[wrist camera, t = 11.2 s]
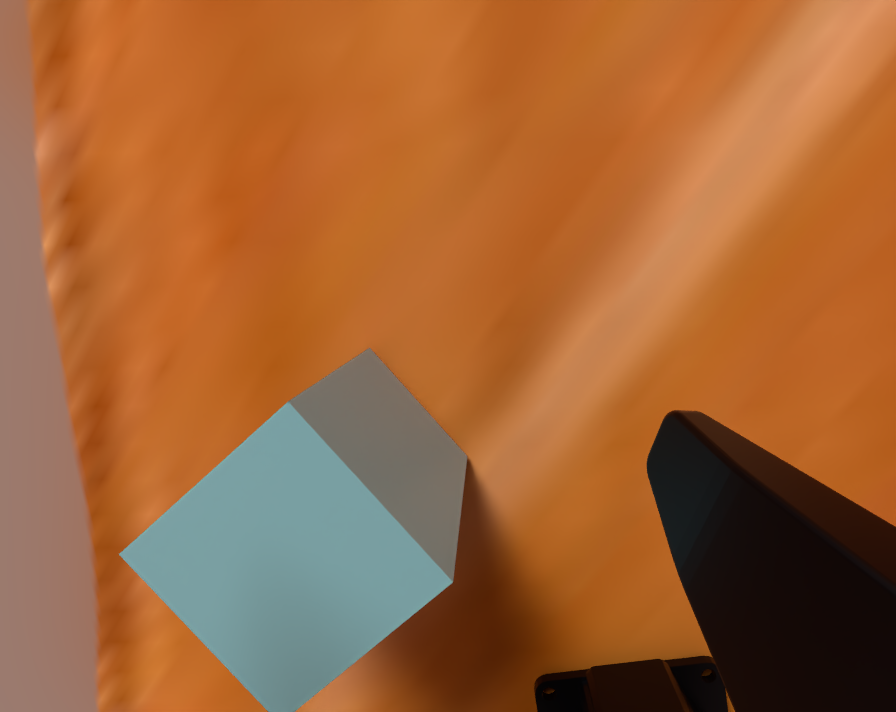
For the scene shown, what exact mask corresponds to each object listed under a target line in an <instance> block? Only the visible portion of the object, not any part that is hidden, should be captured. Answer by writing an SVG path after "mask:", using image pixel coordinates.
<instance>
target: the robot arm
mask: <svg viewBox="0 0 896 712" xmlns="http://www.w3.org/2000/svg"><path fill="white" fill-rule="evenodd" d="M647 473H648V478H649V481H650V484H651V488H652V491H653V494H654V498H655V501H656V504H657V508H658V511H659V514H660V517H661V521H662V524H663V527H664V531H665V534H666V537H667V541H668V544H669V547H670V551H671V554H672V557H673V560H674V563H675V566H676V569H677V572H678V575H679V578H680V580H681V583H682V585H683V588H684V590H685V593H686V595H687V598H688V600H689V602H690V605H691V607H692V610H693V612H694V614H695V617H696V619H697V621H698V624H699V626H700V629H701V631H702V633H703V636H704V638H705V641H706V643H707V645H708V648H709V650H710V653H711V655H712V657H713V658H712V657H709V656H698V657H689V658H681V659H672V660H661V659H654V660H645V661H636V662H628V663H619V664H610V665H602V666H593V667H591V668H590V669H586V670H577V671H568V672H560V673H551V674H545V675H542V676H540V677H539V678H538V679H537V680H536V682H535V686H534V690H535V698H536V704H537V710H538V712H728V707H727V699H726V691H727V693H728V695H729V698H730V700H731V703H732V705H733V707H734V710H735V712H896V527H895V526H893V525H892V524H890V523H888V522H887V521H885V520H883V519H881V518H880V517H878V516H876V515H875V514H873V513H871V512H870V511H868V510H866V509H864V508H863V507H861V506H859V505H858V504H856V503H854V502H853V501H851V500H849V499H848V498H846V497H844V496H842V495H841V494H839V493H837V492H836V491H834V490H832V489H831V488H829V487H827V486H826V485H824V484H822V483H820V482H819V481H817V480H815V479H814V478H812V477H810V476H809V475H807V474H805V473H803V472H802V471H800V470H798V469H797V468H795V467H793V466H792V465H790V464H788V463H787V462H785V461H783V460H781V459H780V458H778V457H776V456H775V455H773V454H771V453H770V452H768V451H766V450H765V449H763V448H761V447H759V446H758V445H756V444H754V443H753V442H751V441H749V440H748V439H746V438H744V437H742V436H741V435H739V434H737V433H736V432H734V431H732V430H731V429H729V428H727V427H726V426H724V425H722V424H720V423H719V422H717V421H715V420H714V419H712V418H710V417H709V416H707V415H705V414H703V413H701V412H698V411H681V410H674V411H671V412H669V413H668V414H667V415H666V416H665V417H664V419H663V421H662V424H661V426H660V429H659V431H658V433H657V436H656V438H655V441H654V443H653V445H652V448H651V450H650V453H649V455H648V459H647ZM707 669H711V670H712V672H711V673H710V674H709V675H707V676H702V675H701V674H702V672H703V671H704V670H707ZM548 687H550V688H553V689H555V690H554V692H552V693H550V694H548V693H545V692H543V690H544V689H545V688H548ZM725 688H726V691H725Z"/></svg>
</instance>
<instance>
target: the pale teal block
mask: <svg viewBox="0 0 896 712" xmlns="http://www.w3.org/2000/svg"><path fill="white" fill-rule="evenodd" d="M466 465H467V455H466V454H465V453H464V452H463V451H462V450H461V449H460V448H459V447H458V445H457V444H456V443H455V442H454V441H453V440H452V439H451V438H450V437H449V435H448V434H447V433H446V432H445V431H444V430H443V429H442V428H441V427H440V425H439V424H438V423H437V422H436V421H435V420H434V419H433V418H432V417H431V415H430V414H429V413H428V412H427V411H426V410H425V409H424V408H423V407H422V405H421V404H420V403H419V402H418V401H417V400H416V399H415V398H414V397H413V395H412V394H411V393H410V392H409V391H408V390H407V389H406V388H405V386H404V385H403V384H402V383H401V382H400V381H399V380H398V379H397V378H396V376H395V375H394V374H393V373H392V372H391V371H390V370H389V369H388V368H387V366H386V365H385V364H384V363H383V362H382V361H381V360H380V359H379V358H378V356H377V355H376V354H375V353H374V352H373V351H372V350H371V349H370V348H369V349H367V350H365V351H364V352H362V353H361V354H359V355H358V356H356V357H355V358H353V359H352V360H350V361H349V362H347V363H346V364H344V365H343V366H341V367H340V368H338V369H337V370H335V371H334V372H332V373H331V374H329V375H328V376H326V377H325V378H323V379H322V380H320V381H319V382H317V383H316V384H314V385H313V386H311V387H309V388H308V389H306V390H305V391H303V392H302V393H300V394H299V395H297V396H296V397H294V398H293V399H291V400H290V401H288V402H287V403H286V404H285V405H284V406H283V407H282V408H280V409H279V410H278V411H277V412H276V413H275V414H274V415H273V416H272V417H271V418H269V419H268V420H267V421H266V422H265V423H264V424H263V425H262V426H261V427H259V428H258V429H257V430H256V431H255V432H254V433H253V434H252V435H251V436H249V437H248V438H247V439H246V440H245V441H244V442H243V443H242V444H241V445H240V446H238V447H237V448H236V449H235V450H234V451H233V452H232V453H231V454H230V455H228V456H227V457H226V458H225V459H224V460H223V461H222V462H221V463H220V464H218V465H217V466H216V467H215V468H214V469H213V470H212V471H211V472H210V473H209V474H207V475H206V476H205V477H204V478H203V479H202V480H201V481H200V482H199V483H197V484H196V485H195V486H194V487H193V488H192V489H191V490H190V491H189V492H187V493H186V494H185V495H184V496H183V497H182V498H181V499H180V500H179V501H178V502H176V503H175V504H174V505H173V506H172V507H171V508H170V509H169V510H168V511H166V512H165V513H164V514H163V515H162V516H161V517H160V518H159V519H158V520H156V521H155V522H154V523H153V524H152V525H151V526H150V527H149V528H148V529H146V530H145V531H144V532H143V533H142V534H141V535H140V536H139V537H138V538H137V539H135V540H134V541H133V542H132V543H131V544H130V545H129V546H128V547H127V548H125V549H124V550H123V551H122V552H121V553H120V554H119V555H120V556H121V557H122V558H123V559H124V560H125V561H126V562H127V563H128V564H129V566H130V567H131V568H132V569H133V570H134V571H135V572H136V573H137V574H138V575H139V576H140V577H141V578H142V579H143V580H144V581H145V582H146V583H147V584H148V586H149V587H150V588H151V589H152V590H153V591H154V592H155V593H156V594H157V595H158V596H159V597H160V598H161V599H162V600H163V601H164V602H165V603H166V604H167V606H168V607H169V608H170V609H171V610H172V611H173V612H174V613H175V614H176V615H177V616H178V617H179V618H180V619H181V620H182V621H183V622H184V623H185V624H186V625H187V627H188V628H189V629H190V630H191V631H192V632H193V633H194V634H195V635H196V636H197V637H198V638H199V639H200V640H201V641H202V642H203V643H204V644H205V645H206V647H207V648H208V649H209V650H210V651H211V652H212V653H213V654H214V655H215V656H216V657H217V658H218V659H219V660H220V661H221V662H222V663H223V664H224V665H225V667H226V668H227V669H228V670H229V671H230V672H231V673H232V674H233V675H234V676H235V677H236V678H237V679H238V680H239V681H240V682H241V683H242V684H243V685H244V687H245V688H246V689H247V690H248V691H249V692H250V693H251V694H252V695H253V696H254V697H255V698H256V699H257V700H258V701H259V702H260V703H261V704H262V705H263V707H264V708H265V709H266V710H267V711H268V712H295V711H296V710H297V709H298V708H300V707H301V706H302V705H303V704H304V703H306V702H307V701H308V700H309V699H311V698H312V697H313V696H314V695H316V694H317V693H318V692H319V691H320V690H322V689H323V688H324V687H325V686H327V685H328V684H329V683H330V682H331V681H333V680H334V679H335V678H336V677H338V676H339V675H340V674H341V673H342V672H344V671H345V670H346V669H347V668H349V667H350V666H351V665H352V664H354V663H355V662H356V661H357V660H358V659H360V658H361V657H362V656H363V655H365V654H366V653H367V652H368V651H369V650H371V649H372V648H373V647H374V646H376V645H377V644H378V643H379V642H381V641H382V640H383V639H384V638H385V637H387V636H388V635H389V634H390V633H392V632H393V631H394V630H395V629H396V628H398V627H399V626H400V625H401V624H403V623H404V622H405V621H406V620H408V619H409V618H410V617H411V616H412V615H414V614H415V613H416V612H417V611H419V610H420V609H421V608H422V607H423V606H425V605H426V604H427V603H428V602H430V601H431V600H432V599H433V598H435V597H436V596H437V595H438V594H439V593H441V592H442V591H443V590H444V589H446V588H447V587H448V586H449V585H450V584H452V583H453V579H454V570H455V562H456V553H457V544H458V535H459V526H460V517H461V509H462V500H463V491H464V482H465V473H466Z"/></svg>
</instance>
